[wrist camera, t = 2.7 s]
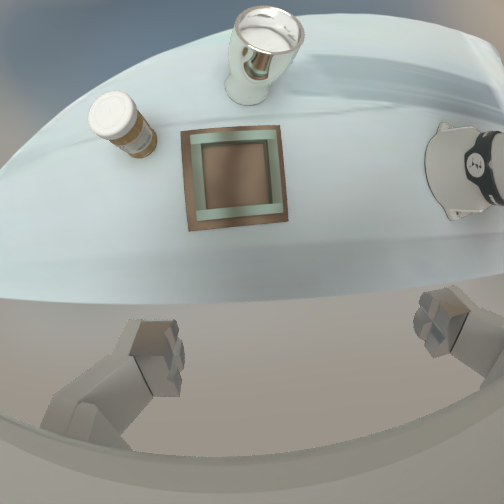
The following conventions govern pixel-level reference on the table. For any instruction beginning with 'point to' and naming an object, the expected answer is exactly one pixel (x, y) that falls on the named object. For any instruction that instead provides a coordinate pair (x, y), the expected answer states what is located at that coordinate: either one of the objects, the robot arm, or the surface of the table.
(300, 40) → the beer glass
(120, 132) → the sprinkles bottle
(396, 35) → the table surface
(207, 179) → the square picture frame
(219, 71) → the table surface
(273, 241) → the table surface
